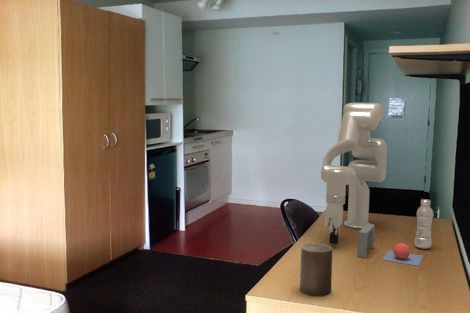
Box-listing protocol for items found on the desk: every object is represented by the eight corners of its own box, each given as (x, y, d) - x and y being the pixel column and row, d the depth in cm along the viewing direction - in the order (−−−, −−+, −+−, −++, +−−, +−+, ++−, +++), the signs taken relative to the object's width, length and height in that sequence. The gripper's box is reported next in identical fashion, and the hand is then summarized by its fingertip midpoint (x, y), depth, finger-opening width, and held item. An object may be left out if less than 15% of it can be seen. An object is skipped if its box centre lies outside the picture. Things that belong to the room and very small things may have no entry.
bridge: (357, 256, 181) (358, 231, 180) (366, 246, 194) (367, 223, 193) (365, 258, 179) (366, 233, 178) (373, 247, 192) (374, 224, 191)
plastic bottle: (411, 248, 193) (414, 199, 191) (418, 244, 198) (421, 197, 196) (427, 251, 189) (430, 202, 187) (433, 248, 194) (437, 200, 192)
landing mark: (388, 250, 189) (388, 250, 189) (423, 256, 183) (423, 255, 183) (381, 260, 177) (381, 259, 177) (418, 266, 171) (418, 265, 171)
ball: (413, 244, 179) (410, 259, 180) (397, 240, 183) (394, 255, 183) (408, 247, 174) (406, 262, 175) (392, 242, 178) (390, 258, 178)
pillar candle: (336, 295, 144) (338, 246, 142) (305, 297, 142) (307, 248, 140) (323, 283, 153) (325, 238, 152) (295, 285, 151) (296, 239, 150)
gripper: (331, 195, 199) (330, 237, 201) (320, 201, 186) (319, 246, 188) (349, 197, 195) (347, 240, 197) (339, 203, 182) (337, 249, 184)
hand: (333, 243), depth 192 cm, fingers closed
